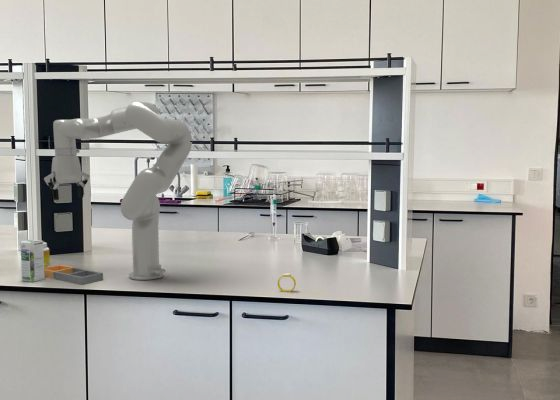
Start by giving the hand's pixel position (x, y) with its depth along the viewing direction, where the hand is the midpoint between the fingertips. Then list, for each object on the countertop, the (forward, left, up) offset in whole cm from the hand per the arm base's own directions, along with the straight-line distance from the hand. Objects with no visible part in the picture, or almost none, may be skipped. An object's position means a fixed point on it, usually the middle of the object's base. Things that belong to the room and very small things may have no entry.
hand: (68, 198), depth 233 cm
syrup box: (+2, +15, -29) cm, 32 cm away
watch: (-83, -24, -29) cm, 91 cm away
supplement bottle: (+16, +2, -29) cm, 33 cm away
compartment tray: (-6, +5, -29) cm, 30 cm away
